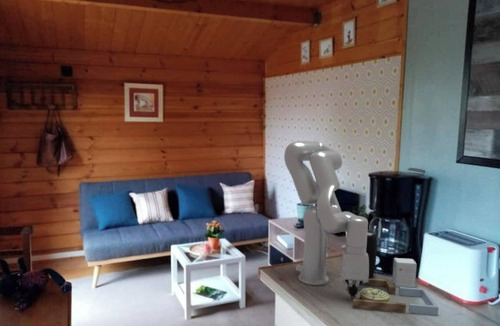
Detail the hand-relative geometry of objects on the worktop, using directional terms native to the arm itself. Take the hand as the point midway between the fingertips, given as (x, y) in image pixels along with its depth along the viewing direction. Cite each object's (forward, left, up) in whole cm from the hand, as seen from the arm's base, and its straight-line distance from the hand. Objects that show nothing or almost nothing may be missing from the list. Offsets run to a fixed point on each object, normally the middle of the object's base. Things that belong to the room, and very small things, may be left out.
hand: (352, 295), depth 158 cm
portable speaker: (-7, +26, -2) cm, 27 cm away
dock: (+19, +14, -1) cm, 23 cm away
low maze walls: (+5, +7, -1) cm, 9 cm away
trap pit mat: (+1, +14, -1) cm, 14 cm away
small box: (+9, +29, -2) cm, 30 cm away
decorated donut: (+7, +5, -2) cm, 8 cm away
